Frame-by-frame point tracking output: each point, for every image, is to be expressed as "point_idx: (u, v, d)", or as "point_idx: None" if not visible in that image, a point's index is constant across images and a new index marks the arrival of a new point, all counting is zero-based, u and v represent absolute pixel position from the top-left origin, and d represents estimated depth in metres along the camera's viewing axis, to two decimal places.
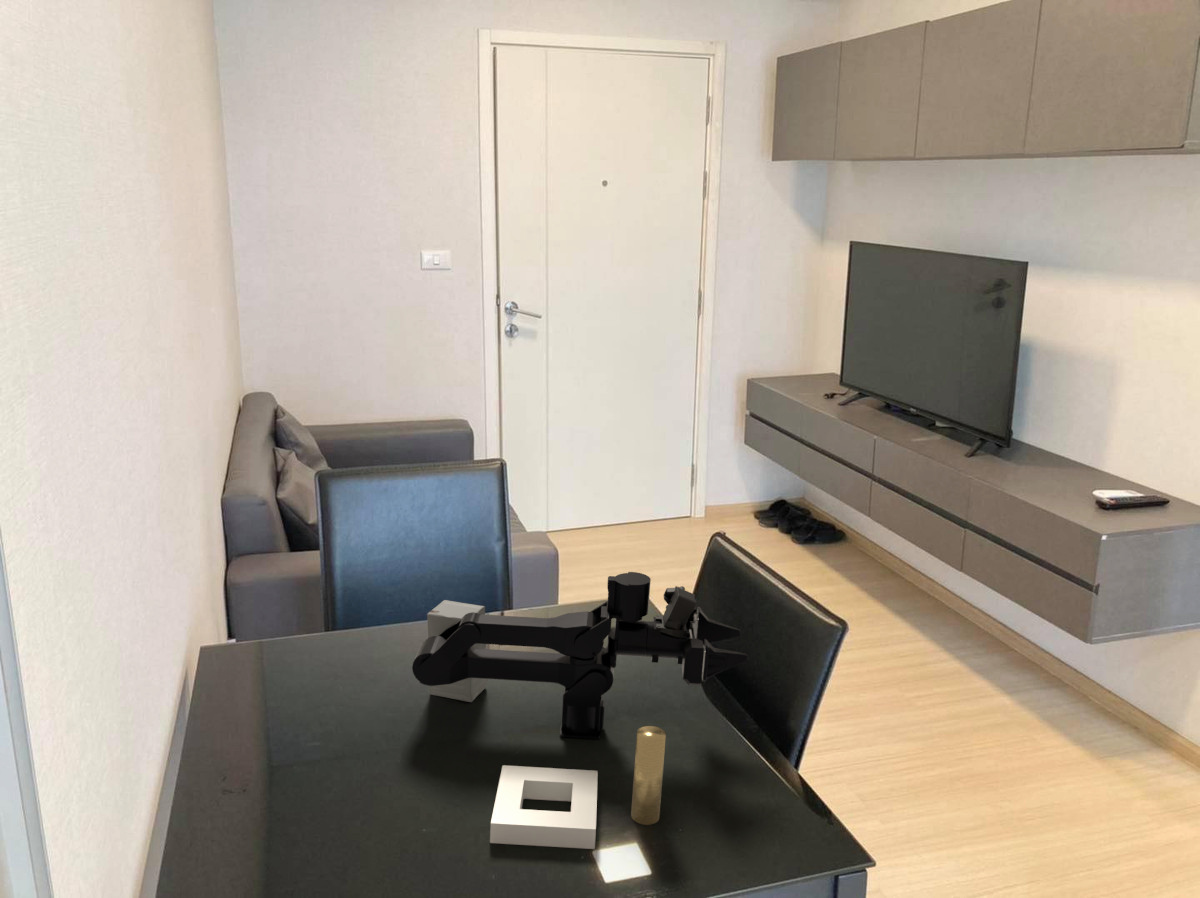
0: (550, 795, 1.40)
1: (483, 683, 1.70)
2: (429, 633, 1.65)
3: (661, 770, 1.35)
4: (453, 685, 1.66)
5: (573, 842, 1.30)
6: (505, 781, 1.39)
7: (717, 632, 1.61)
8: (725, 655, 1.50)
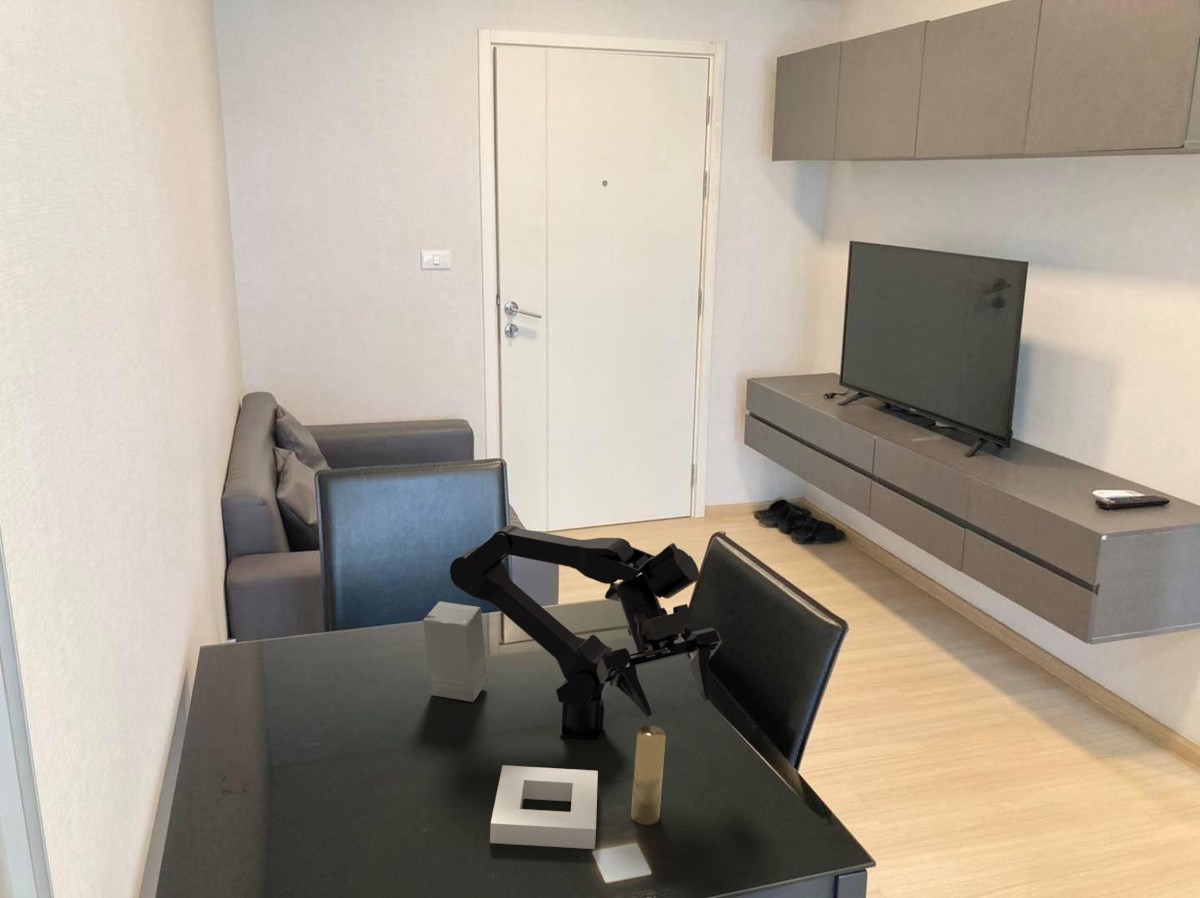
0: (550, 795, 1.40)
1: (483, 680, 1.70)
2: (426, 638, 1.63)
3: (661, 770, 1.35)
4: (454, 687, 1.66)
5: (573, 842, 1.30)
6: (505, 781, 1.39)
7: (699, 678, 1.45)
8: (635, 693, 1.41)
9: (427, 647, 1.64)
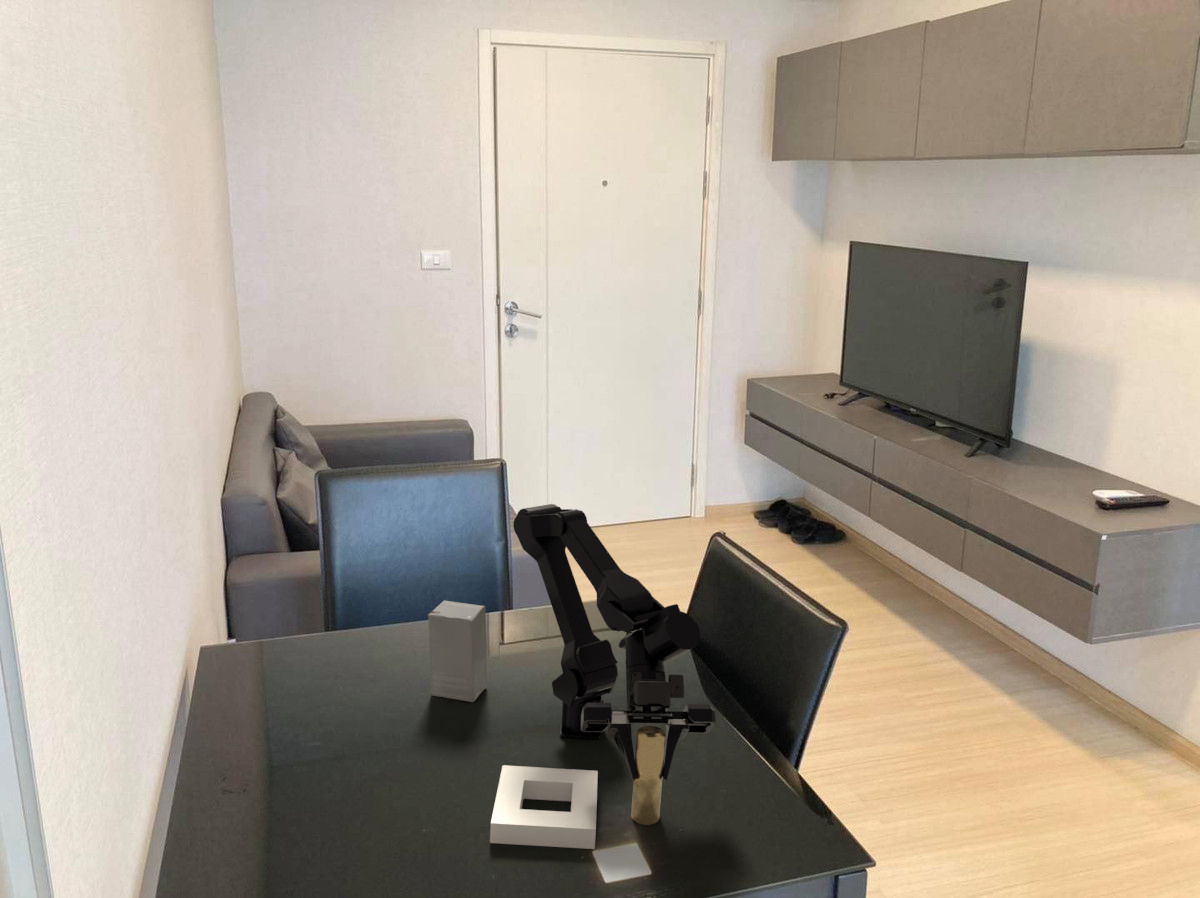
0: (550, 795, 1.40)
1: (484, 682, 1.70)
2: (430, 634, 1.65)
3: (661, 770, 1.35)
4: (455, 685, 1.66)
5: (573, 842, 1.30)
6: (505, 781, 1.39)
7: None
8: (625, 752, 1.36)
9: (430, 643, 1.65)
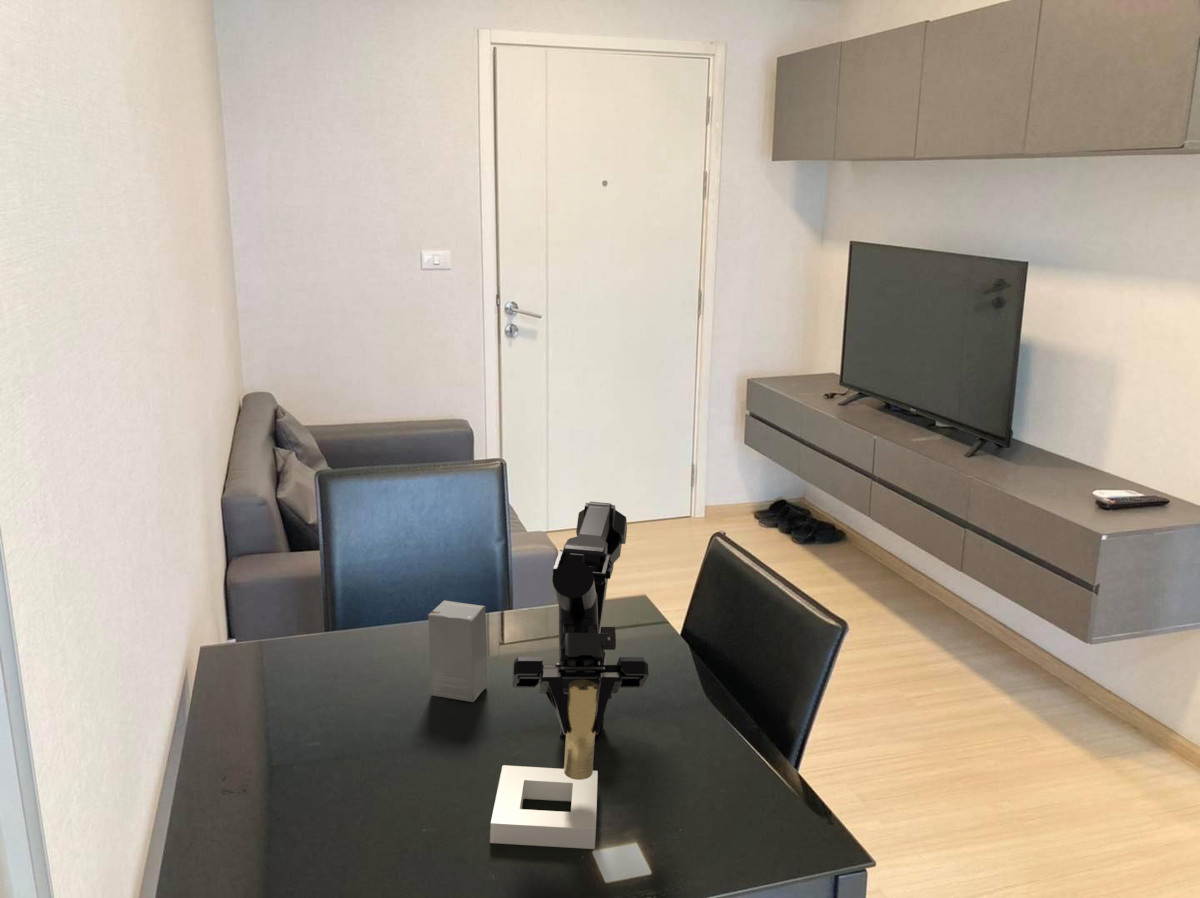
0: (550, 795, 1.40)
1: (484, 682, 1.70)
2: (430, 634, 1.65)
3: (593, 723, 1.32)
4: (455, 685, 1.66)
5: (573, 842, 1.30)
6: (505, 781, 1.39)
7: None
8: (556, 706, 1.33)
9: (430, 643, 1.65)
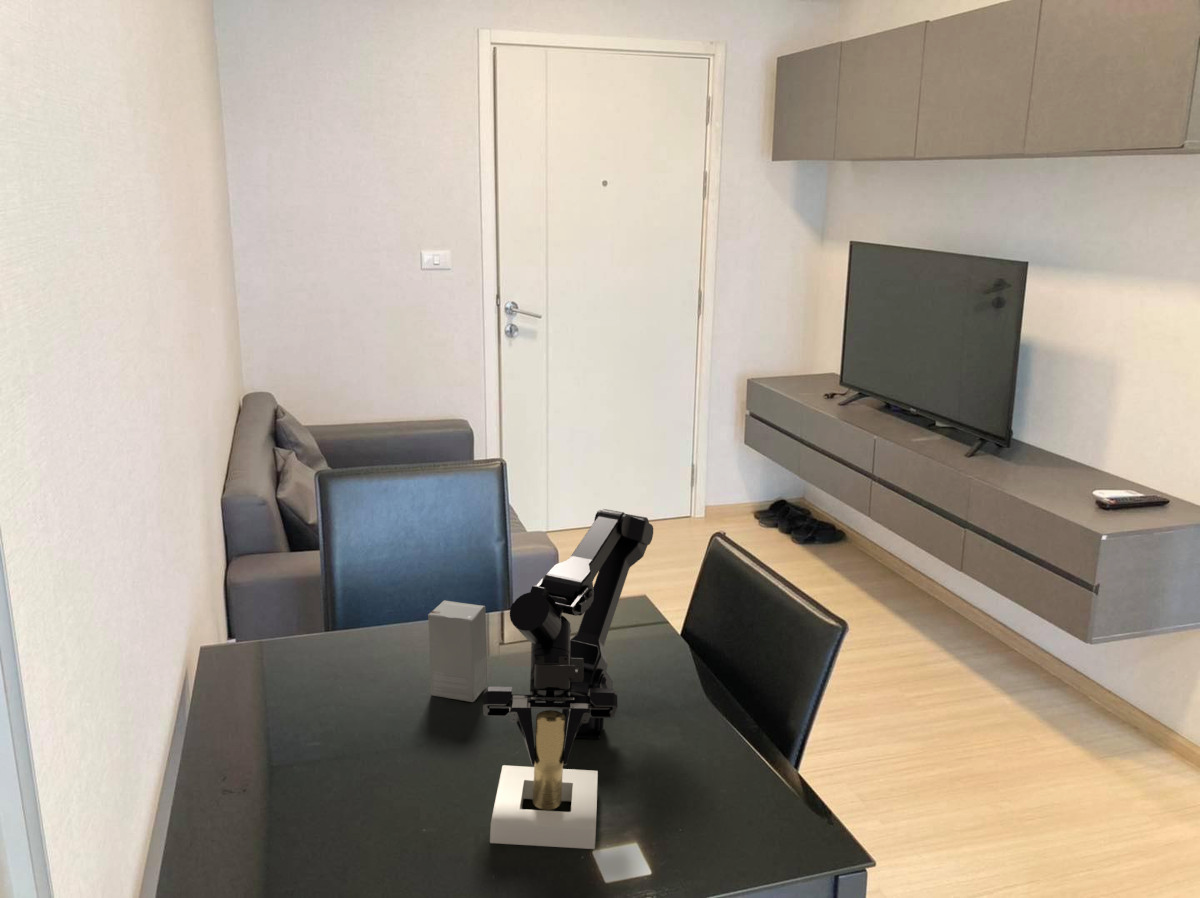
0: None
1: (484, 682, 1.70)
2: (430, 634, 1.65)
3: (561, 754, 1.33)
4: (455, 685, 1.66)
5: (573, 842, 1.30)
6: (505, 781, 1.39)
7: None
8: (525, 736, 1.34)
9: (430, 643, 1.65)
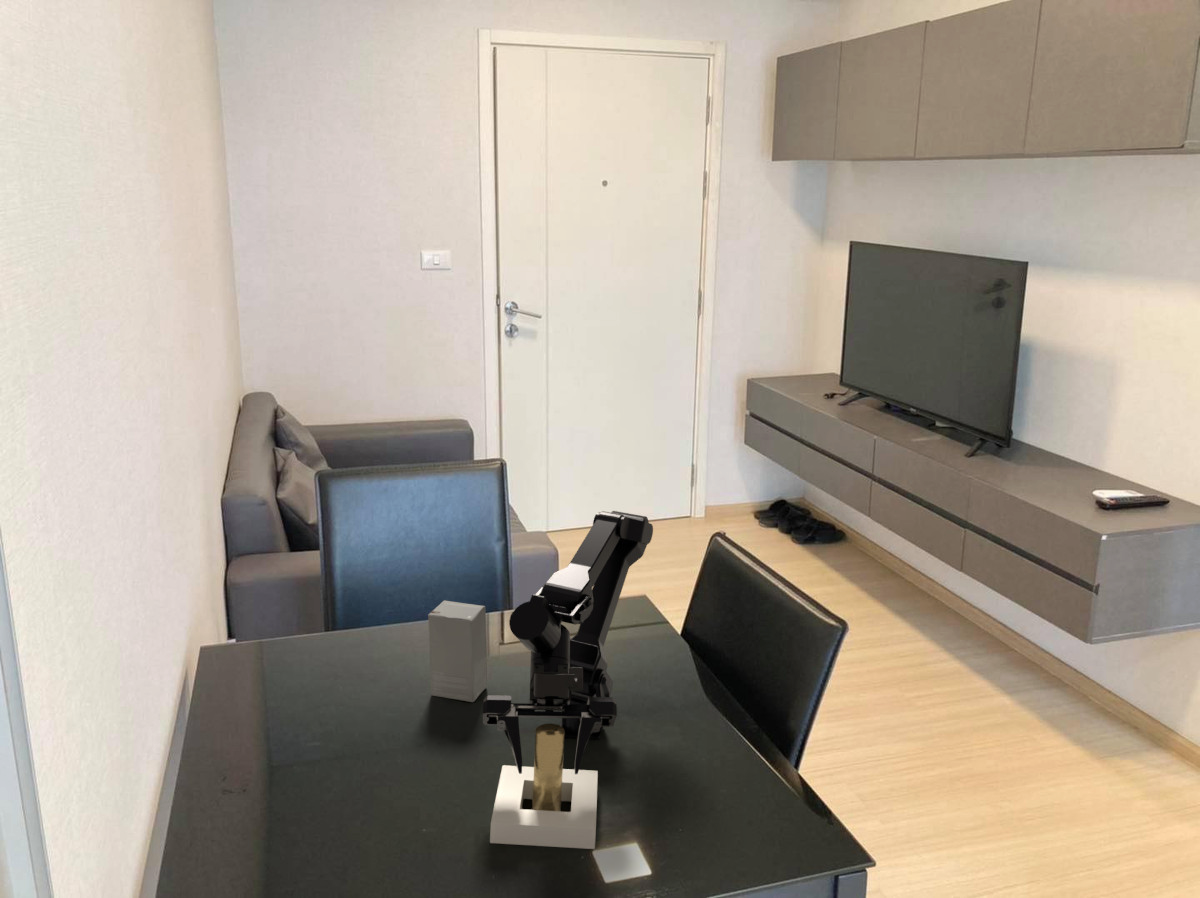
0: None
1: (484, 682, 1.70)
2: (430, 634, 1.65)
3: (560, 768, 1.34)
4: (455, 685, 1.66)
5: (573, 842, 1.30)
6: (505, 781, 1.39)
7: None
8: (512, 745, 1.34)
9: (430, 643, 1.65)
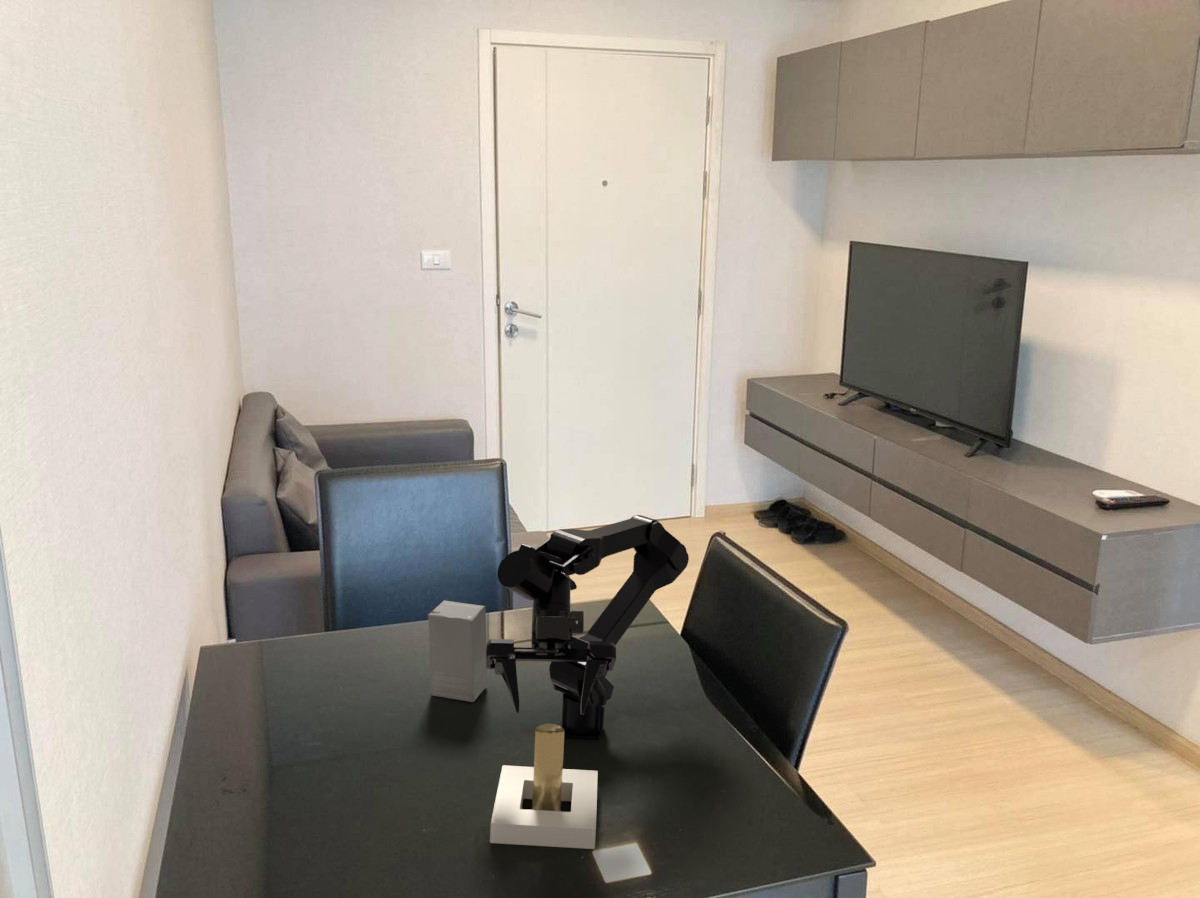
0: None
1: (484, 682, 1.70)
2: (430, 634, 1.65)
3: (560, 768, 1.34)
4: (455, 685, 1.66)
5: (573, 842, 1.30)
6: (505, 781, 1.39)
7: None
8: (509, 686, 1.38)
9: (430, 643, 1.65)
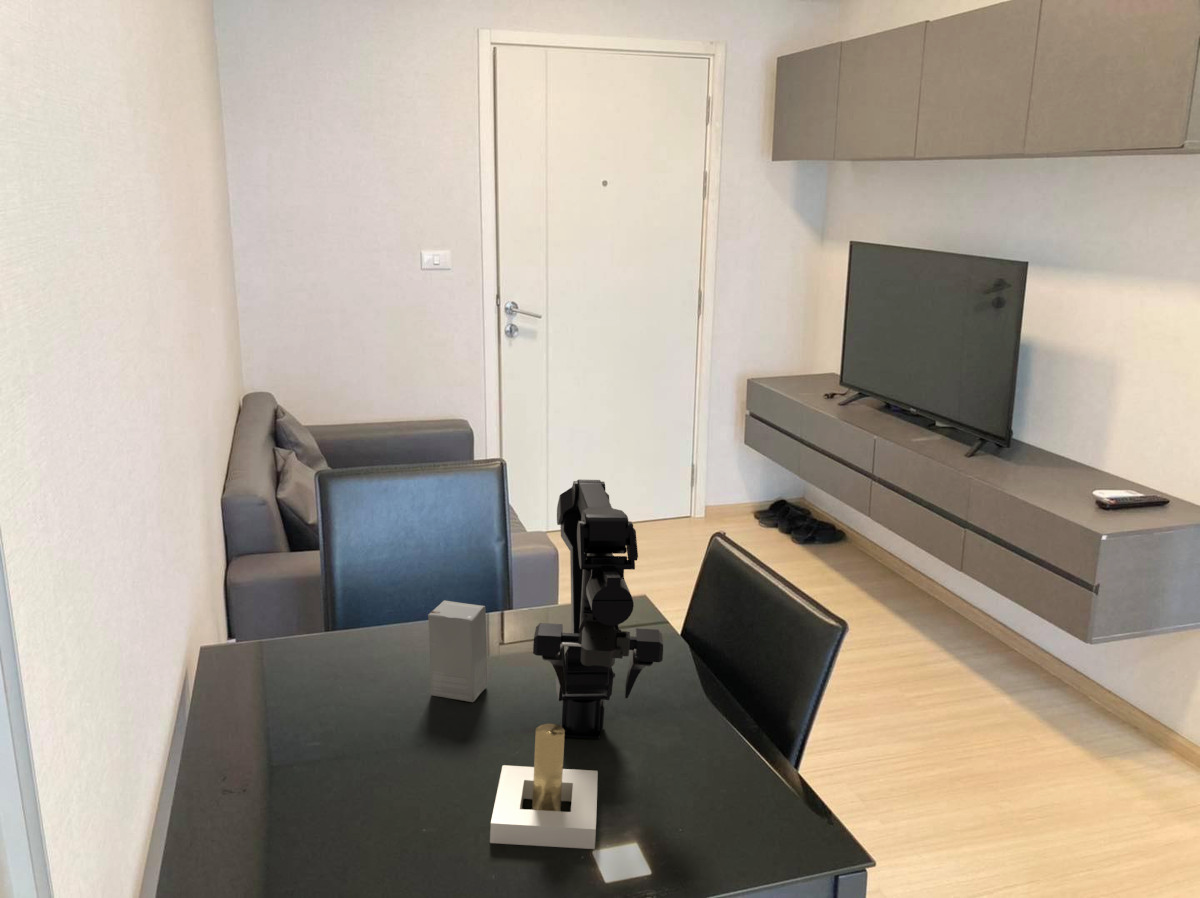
0: None
1: (484, 682, 1.70)
2: (430, 634, 1.65)
3: (560, 768, 1.34)
4: (455, 685, 1.66)
5: (573, 842, 1.30)
6: (505, 781, 1.39)
7: None
8: None
9: (430, 643, 1.65)
